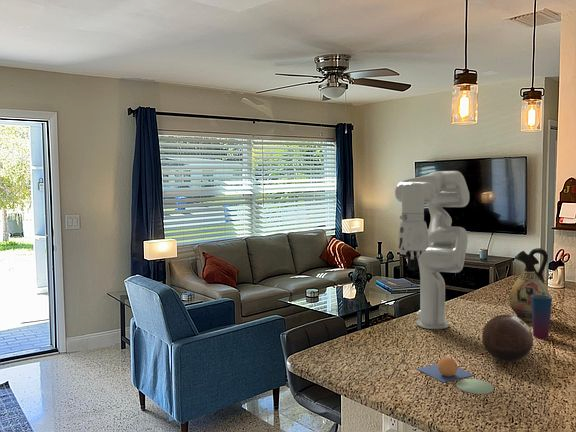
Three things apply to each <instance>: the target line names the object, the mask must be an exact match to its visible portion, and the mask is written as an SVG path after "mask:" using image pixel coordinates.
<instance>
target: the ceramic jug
mask: <svg viewBox="0 0 576 432" xmlns="http://www.w3.org/2000/svg"><path fill="white" fill-rule="evenodd" d="M535 254H540V255H542V256H543V258H542V263H541V265H540V267H539V268H538V271H537V269H536V267H535V265H539V264H540V261H539V259H537V258H536V257H535V256H534V255H535ZM548 259H549V256H548V252H547V251H546V250H545V249H544V248H540V247H539V248H537V247H536V248H533V249H532V250H531V251H529V253H526V252H525V250H522V251H520V252H519V253H518V254H516V255H515V256H514V260H515V261H518V262H521V263H523V264H524V265H525V269H524V270H523V272H522V273H521V274H520V275H519V277H518V278H517V279H516V281H514V284H513V285H512V287H511V290H510V293H509V298H508V299H509V306H510V308H511V310H512V311H513V312H514V313H515V316H516V317H518V318H519V319H521V320H522V321H524V322H528V323H529V322H530V323H533V320H532V300H531V296H532V295H536V294H539V295H548V296H551V295H550V291H549V289H548V287H547V285H546V284H545V279H544V275H543V272H544V271H545V269H546V266H547V263H548Z"/></svg>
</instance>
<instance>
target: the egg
mask: <svg viewBox="0 0 576 432" xmlns="http://www.w3.org/2000/svg"><path fill="white" fill-rule="evenodd" d="M437 364H438V369H439V371H440V373H441V374H442V375H444V376H446V377H451V376H453V375H455V374H456V372H457V369H458V368H459V367H458V364H457V362H456V360H454V359H453V358H452V357H449V356H448V357H447V356H446V357H443V358H441V359H440V360H439V361H438V363H437Z"/></svg>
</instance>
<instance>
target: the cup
mask: <svg viewBox="0 0 576 432" xmlns="http://www.w3.org/2000/svg"><path fill="white" fill-rule="evenodd" d="M531 300H532V320H533V322H532V336H533V338H537V339H549V335H550V334H549V333H550V323H551V310H552V301H553V297H552V296H551V295H550V296H548V295H539V294H536V295H532V296H531Z"/></svg>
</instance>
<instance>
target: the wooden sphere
mask: <svg viewBox="0 0 576 432" xmlns="http://www.w3.org/2000/svg"><path fill="white" fill-rule="evenodd" d="M481 339H482V343H483V346H484V349H485V350H486V351H487V353H488V354H489V355H490V356H491V357H493V358H494V359H495V360H498V361H500V362H502V363H512V364H513V363H517V362H519V361H520V362H521V361H522V360H524V359H525V358H526V357H528V355H529V354H530V352H531V351H532V349H533V346H534V345H533V344H534V336H533V331H531V328H530V327H529V325H528V324H527V323H526V321H522V320H521V319H519V318H518V317H517V316H516V315H515V316H514V315H513V314H512V315H510V314H499V315H495V316H494V317H492V318H490V319H489V320H488V321H487V322H486V324H485V325H484V327H483V330H482V335H481Z"/></svg>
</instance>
